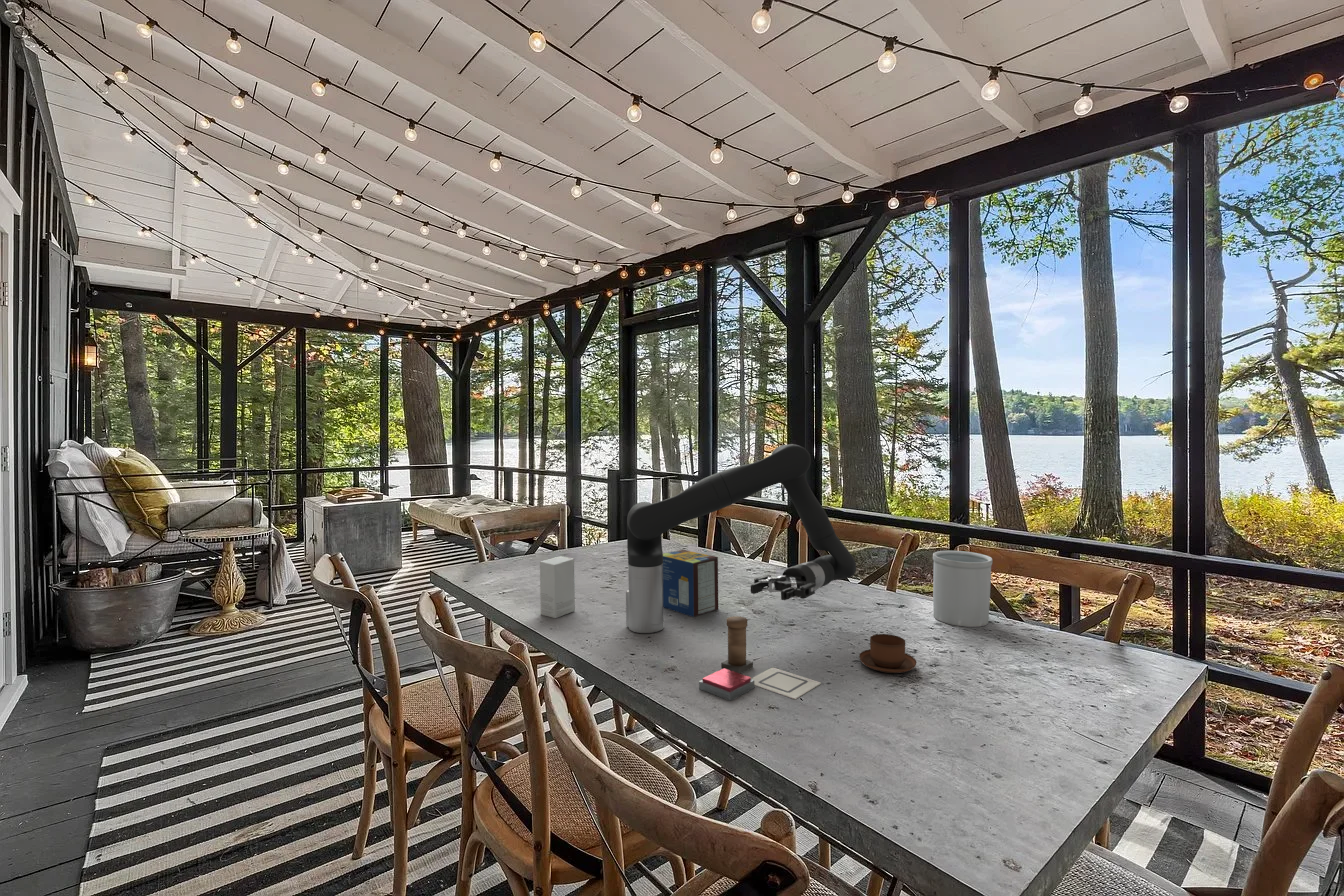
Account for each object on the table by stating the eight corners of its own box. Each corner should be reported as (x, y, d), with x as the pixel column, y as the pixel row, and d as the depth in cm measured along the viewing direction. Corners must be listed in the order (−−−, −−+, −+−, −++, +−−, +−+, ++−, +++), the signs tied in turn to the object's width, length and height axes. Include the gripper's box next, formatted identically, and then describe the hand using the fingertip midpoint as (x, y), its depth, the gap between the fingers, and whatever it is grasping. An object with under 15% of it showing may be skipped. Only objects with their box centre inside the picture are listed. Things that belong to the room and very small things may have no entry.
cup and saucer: (847, 661, 139) (847, 635, 139) (889, 653, 144) (889, 627, 144) (885, 682, 128) (885, 652, 128) (928, 672, 133) (929, 644, 133)
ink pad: (699, 688, 125) (699, 678, 125) (723, 677, 131) (723, 666, 131) (730, 700, 120) (730, 689, 120) (754, 687, 126) (754, 677, 125)
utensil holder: (1002, 621, 166) (1003, 557, 166) (972, 632, 158) (973, 564, 157) (951, 608, 179) (952, 548, 178) (920, 617, 170) (921, 554, 170)
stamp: (721, 668, 136) (720, 619, 136) (735, 661, 140) (734, 614, 139) (739, 674, 133) (739, 624, 132) (753, 667, 136) (752, 619, 136)
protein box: (682, 598, 190) (682, 549, 190) (719, 609, 179) (718, 556, 178) (657, 605, 183) (656, 554, 183) (693, 617, 172) (693, 562, 171)
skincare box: (560, 607, 182) (560, 555, 181) (576, 611, 178) (576, 558, 177) (539, 615, 175) (538, 560, 174) (555, 619, 171) (554, 563, 171)
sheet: (745, 682, 128) (745, 680, 128) (772, 668, 136) (772, 666, 136) (795, 699, 120) (795, 698, 120) (821, 683, 127) (821, 682, 127)
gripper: (779, 560, 160) (742, 572, 148) (828, 568, 150) (792, 581, 139) (780, 588, 160) (742, 602, 149) (829, 598, 151) (793, 614, 139)
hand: (766, 592), depth 144 cm, fingers open, 8 cm apart
